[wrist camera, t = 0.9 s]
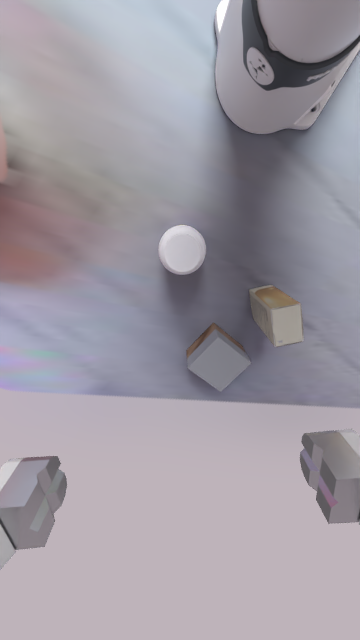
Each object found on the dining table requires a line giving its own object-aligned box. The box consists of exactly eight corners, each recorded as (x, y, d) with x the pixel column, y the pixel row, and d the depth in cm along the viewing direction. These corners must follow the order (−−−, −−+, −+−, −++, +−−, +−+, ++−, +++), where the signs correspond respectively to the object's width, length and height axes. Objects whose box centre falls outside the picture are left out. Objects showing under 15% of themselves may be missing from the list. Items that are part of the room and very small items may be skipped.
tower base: (213, 321, 48) (215, 329, 45) (242, 345, 50) (246, 353, 47) (186, 349, 51) (186, 358, 47) (215, 371, 53) (217, 380, 49)
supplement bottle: (209, 248, 43) (220, 258, 31) (179, 272, 44) (178, 290, 32) (185, 215, 41) (186, 213, 29) (154, 241, 42) (144, 249, 31)
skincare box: (275, 314, 47) (304, 344, 36) (252, 319, 48) (274, 349, 36) (271, 282, 45) (302, 302, 34) (248, 287, 45) (270, 309, 34)
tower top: (215, 328, 45) (218, 336, 42) (246, 353, 47) (251, 363, 44) (187, 358, 47) (187, 368, 44) (217, 380, 49) (220, 392, 46)
